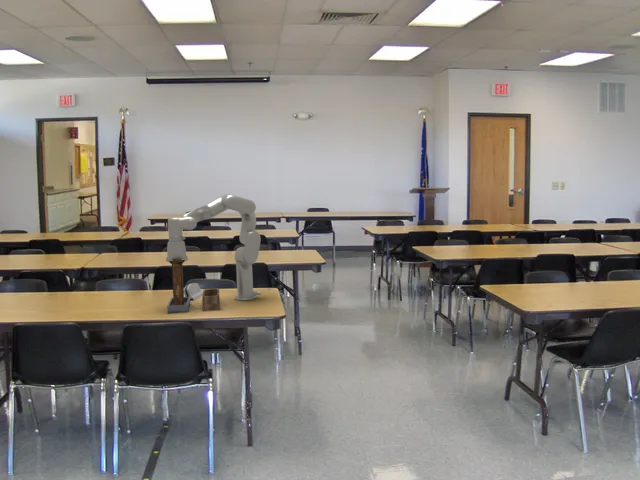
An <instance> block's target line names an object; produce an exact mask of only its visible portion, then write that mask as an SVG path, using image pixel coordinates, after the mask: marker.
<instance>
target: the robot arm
mask: <svg viewBox="0 0 640 480" xmlns="http://www.w3.org/2000/svg"><path fill="white" fill-rule="evenodd" d="M256 209H257V206H256V203H255V202H254V201H253V200H250V199H248V198H243V197H241V196H237V195H234V194H223V195H220V196H219V197H217V198H216V199H214V200H212V201H209V202H208V203H206V204H204V205H202V206H200V207H197V208H195V209H193V210H191V211H189V212H187V213H185V214H184V215H182V216H180V217H176V216H175V217H169V218H168V219H167V228H168V230H167V231H168V241H167V247H166V248H167V251H166V252H167V253H166V254H167V256H166V258H165V262H167V263H169V264H171V265H172V261H175V260H179V261H181V260H182V265H183V264H184V263H185V262H187V261H189V258H188V255H187V250H186V249H187V248H186V243H185V241H184V240H186V237H185V236H183V230H184V231H185V230H187V231H193V230H194V229H195V228H196V227H197V226H198V225H197V224H198V223H199V222H202V221H204V220H205V221H206V220H210V219H213V218H215V217H217V216H218V215H220V214H222V213H224V212H225V211H228V210H231V211H235V212H238V213H239V215H240V217H241V226H240V232H239V237H238V238H239V242H240V243H241V244H243V245H244V246H241V247H238V248H237V249H236V250H235V251H234V262H235V267H236V268H235V269H236V288H237V289H236V291H237V294H236V295H235V298H234V299H235V300H236V301H251V300H252V301H253V300H255V299H256V298H257V297H256V296H261V295H262V293H261V291H255V290H254V281H253V279H254V278H253V265H254V264H255V263H256V262H257V260H258V258H259V252H260V247H261V238H262V237H261V235H260V233H259V232H258V231H257V230H256V227H257V226H256V225H257V217H256V213H255V212H256Z"/></svg>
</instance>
